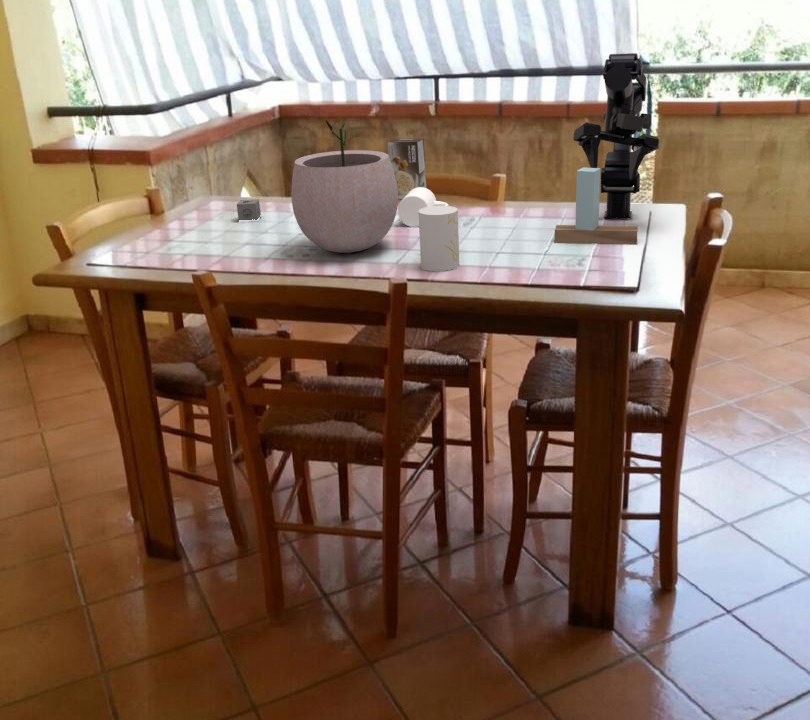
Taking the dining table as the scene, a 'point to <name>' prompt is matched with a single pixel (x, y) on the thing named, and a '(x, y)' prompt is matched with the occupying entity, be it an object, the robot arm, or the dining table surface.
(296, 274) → the dining table surface
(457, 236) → the white cylinder
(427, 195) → the mug
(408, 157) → the coffee box
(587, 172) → the post
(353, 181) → the plant pot
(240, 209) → the dice cube
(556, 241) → the beam
